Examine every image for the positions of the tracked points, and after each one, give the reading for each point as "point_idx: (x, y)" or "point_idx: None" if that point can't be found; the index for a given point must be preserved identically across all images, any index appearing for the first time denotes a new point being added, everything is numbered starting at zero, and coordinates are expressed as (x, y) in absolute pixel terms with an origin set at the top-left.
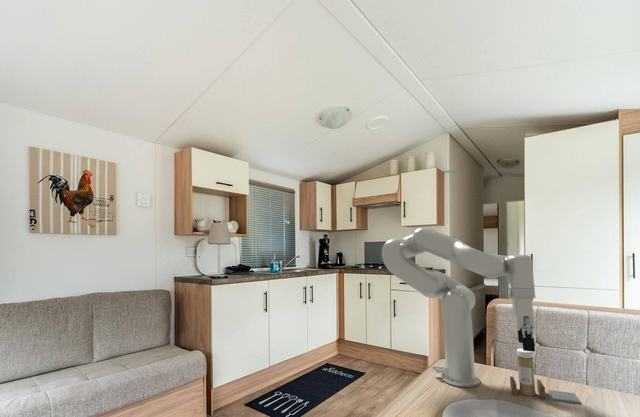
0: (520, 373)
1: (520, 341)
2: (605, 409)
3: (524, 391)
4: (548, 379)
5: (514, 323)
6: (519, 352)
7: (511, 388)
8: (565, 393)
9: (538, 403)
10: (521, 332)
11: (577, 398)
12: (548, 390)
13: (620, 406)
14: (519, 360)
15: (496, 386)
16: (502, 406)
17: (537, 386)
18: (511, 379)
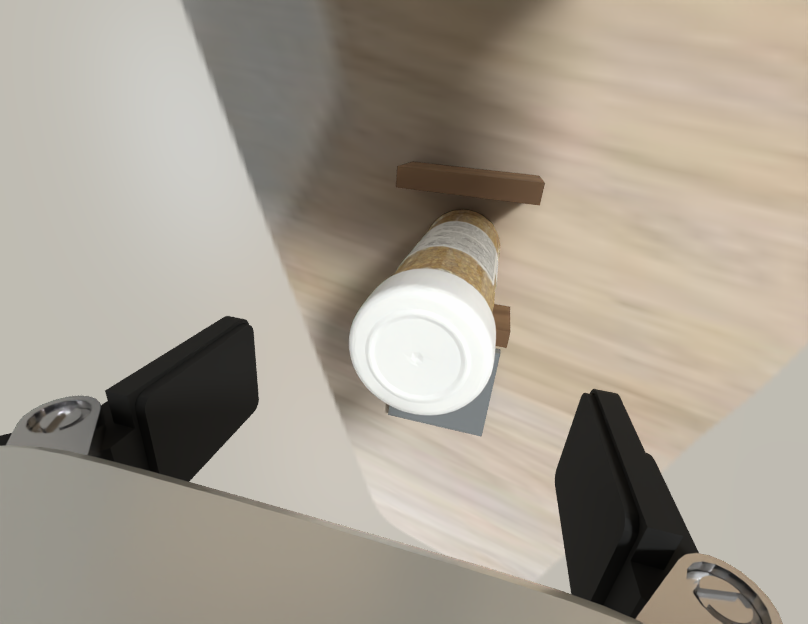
0: (425, 238)
1: (582, 410)
2: (369, 457)
3: (431, 228)
4: (689, 419)
5: (309, 615)
6: (376, 291)
7: (489, 171)
8: (468, 403)
9: (350, 256)
10: (602, 537)
11: (423, 420)
12: (497, 352)
13: (408, 508)
14: (410, 265)
15: (542, 82)
16: (257, 68)
17: (499, 314)
18: (479, 178)
